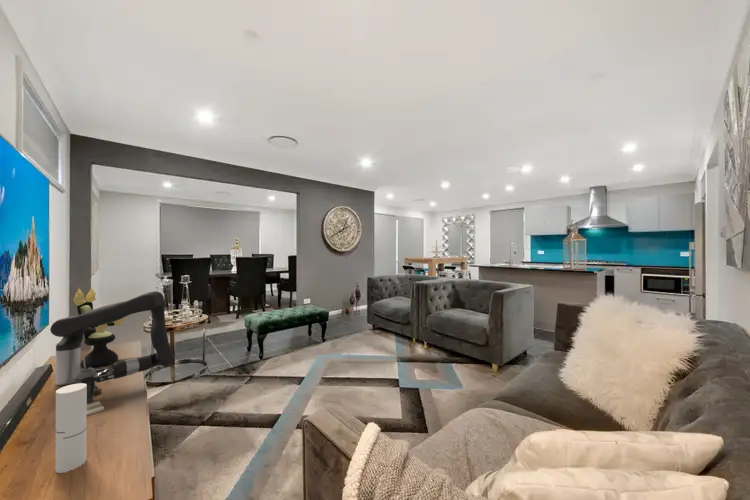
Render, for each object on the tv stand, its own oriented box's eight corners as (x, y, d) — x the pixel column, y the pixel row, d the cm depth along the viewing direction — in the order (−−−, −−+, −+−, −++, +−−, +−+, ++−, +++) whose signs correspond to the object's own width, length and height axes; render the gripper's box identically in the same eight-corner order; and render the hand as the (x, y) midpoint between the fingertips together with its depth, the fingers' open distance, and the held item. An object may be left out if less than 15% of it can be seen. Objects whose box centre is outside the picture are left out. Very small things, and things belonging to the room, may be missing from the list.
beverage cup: (83, 407, 135) (83, 361, 135) (70, 405, 137) (70, 360, 136) (101, 399, 142) (101, 356, 142) (88, 397, 144) (88, 354, 144)
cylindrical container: (69, 457, 103) (69, 383, 103) (92, 456, 104) (92, 383, 104) (48, 473, 96) (49, 393, 96) (73, 472, 97) (73, 393, 97)
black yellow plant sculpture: (107, 368, 178) (107, 289, 177) (60, 370, 173) (61, 290, 172) (125, 356, 196) (126, 285, 196) (84, 358, 191) (85, 286, 191)
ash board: (60, 414, 129) (60, 412, 129) (98, 403, 139) (98, 401, 139) (65, 422, 124) (65, 419, 124) (104, 409, 133) (104, 407, 133)
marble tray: (70, 394, 146) (70, 387, 146) (95, 387, 154) (95, 380, 153) (75, 400, 141) (75, 392, 141) (101, 393, 148) (101, 385, 148)
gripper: (120, 357, 155) (75, 367, 142) (130, 363, 147) (83, 375, 133) (120, 372, 155) (75, 383, 142) (130, 379, 147) (83, 392, 134)
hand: (79, 379), depth 138 cm, fingers closed on beverage cup, 7 cm apart
